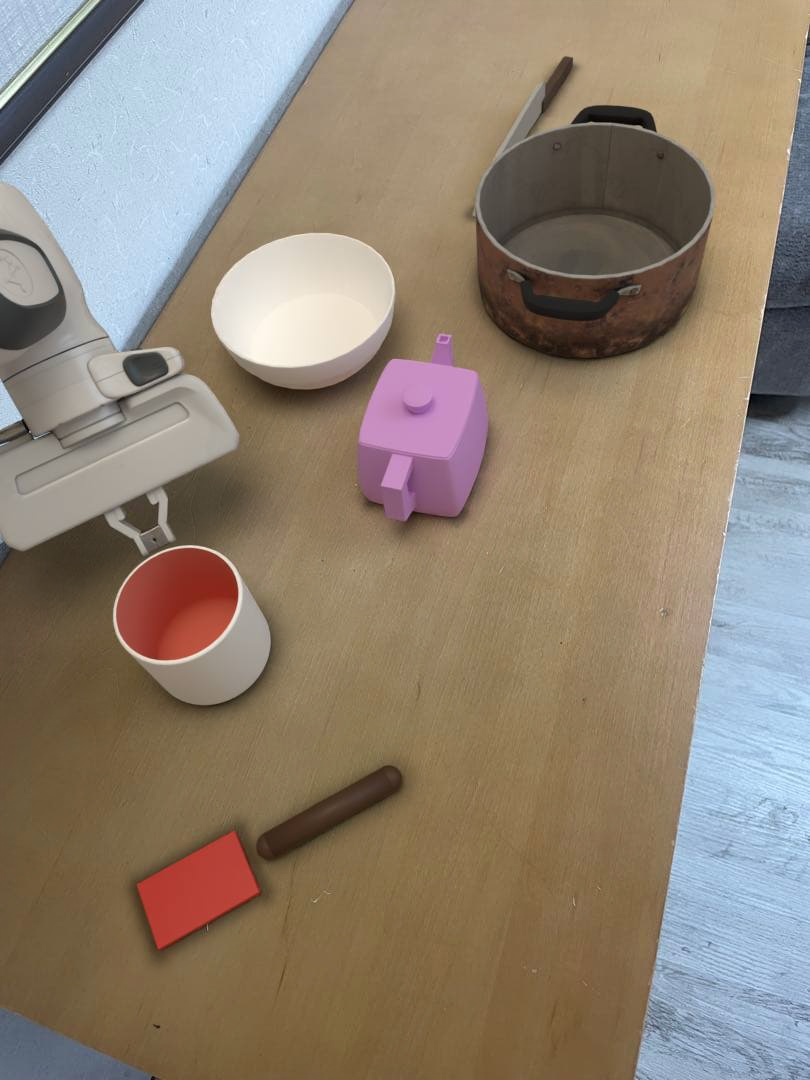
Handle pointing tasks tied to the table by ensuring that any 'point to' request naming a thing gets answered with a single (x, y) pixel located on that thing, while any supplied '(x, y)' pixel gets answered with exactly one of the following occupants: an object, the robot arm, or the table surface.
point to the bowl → (305, 309)
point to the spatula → (244, 862)
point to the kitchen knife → (536, 106)
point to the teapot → (423, 436)
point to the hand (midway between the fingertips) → (159, 547)
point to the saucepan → (592, 234)
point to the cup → (193, 624)
